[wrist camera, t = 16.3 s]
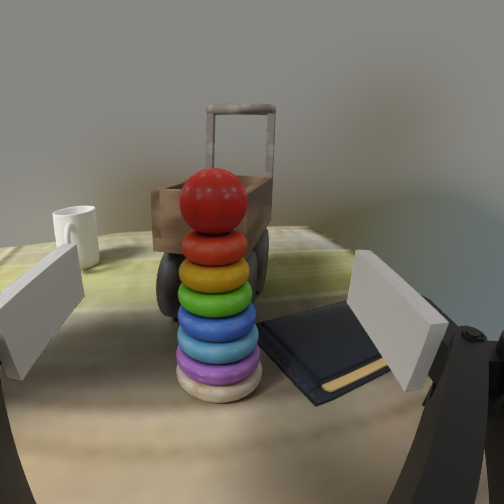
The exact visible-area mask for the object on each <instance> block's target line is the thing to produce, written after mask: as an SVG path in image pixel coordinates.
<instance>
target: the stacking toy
mask: <svg viewBox="0 0 504 504" xmlns="http://www.w3.org/2000/svg"><path fill="white" fill-rule="evenodd" d="M179 205H180V211H181V214H182V216H183V218H184V220H185V222H186V223H187V224H188V225H189V226H190V227H191V228H192V229H193V230H194V231H191V232H189V233H188V234H187V235H186V236H185V237H184V238H183V240H182V245H181V247H182V252H183V254H184V255H185V257H186V259H185V260H184V261H183V262H182V264H181V265H180V268H179V277H180V279H181V281H182V283H181V285H180V287H179V290H178V298H179V302H180V303H181V306H180V308H179V311H178V321H179V324H180V326H179V328H178V332H177V339H178V343H179V345H178V347H177V350H176V360H177V363H178V364H177V368H176V375H177V379H178V381H179V383H180V385H181V386H182V388H183V389H184V390H185V391H186V392H188V393H189V394H190V395H192V396H194V397H196V398H198V399H201V400H204V401H208V402H214V403H225V402H231V401H235V400H238V399H241V398H243V397H245V396H247V395H248V394H250V393H251V392H252V391H254V390H255V388H256V387H257V386H258V384H259V382H260V380H261V377H262V365H261V362H260V349H259V346H258V344H257V342H258V337H259V334H258V329H257V326H256V325H255V322H256V310H255V307H254V305H253V304H252V302H251V299H252V288H251V286H250V284H249V282H248V281H247V279H248V277H249V272H250V270H249V265H248V263H247V262H246V260H245V259H244V258H242V257H243V256H244V255H245V253H246V251H247V240H246V238H245V236H244V235H243V234H242V233H241V232H239V231H237V230H235V228H236V227H237V226H238V225H239V224H240V223H241V221H242V220H243V218H244V216H245V213H246V210H247V205H248V197H247V192H246V189H245V187H244V185H243V183H242V182H241V181H240V179H239V178H238V177H237V176H236V175H234V174H233V173H231V172H229V171H226V170H223V169H219V168H209V169H204V170H201V171H198V172H196V173H195V174H194V175H192V176H191V177H190V178H189V179H188V180H187V181H186V182H185V184H184V185H183V188H182V190H181V193H180V198H179Z"/></svg>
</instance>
